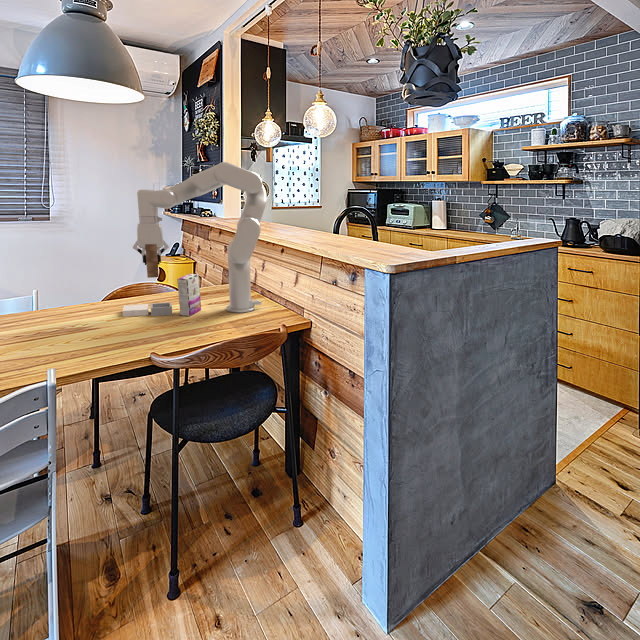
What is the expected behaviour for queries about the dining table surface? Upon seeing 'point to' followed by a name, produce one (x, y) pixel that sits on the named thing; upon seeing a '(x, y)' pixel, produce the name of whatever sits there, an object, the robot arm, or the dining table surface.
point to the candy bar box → (189, 294)
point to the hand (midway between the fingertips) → (152, 263)
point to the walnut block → (151, 260)
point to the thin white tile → (135, 310)
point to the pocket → (161, 309)
